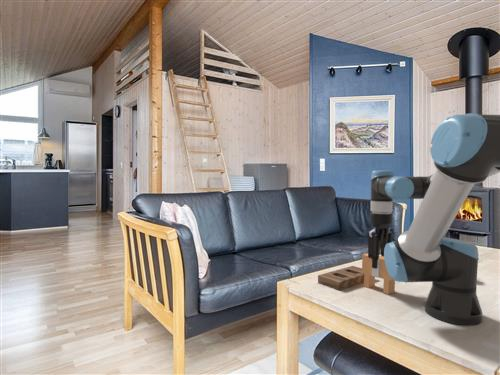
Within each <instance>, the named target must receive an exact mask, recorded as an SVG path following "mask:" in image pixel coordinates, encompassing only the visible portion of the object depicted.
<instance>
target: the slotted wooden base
mask: <svg viewBox="0 0 500 375" xmlns="http://www.w3.org/2000/svg"><path fill="white" fill-rule="evenodd" d="M362 283H364V273H362V267H360V266H359V267H358V266H356V265H351V266H348V267H344V268H339V269H337V270H332V271H329V272H325V273H321V274H318V275H317V284H320V285H323V286H326V287H329V288H331V289H334V290H336V291H342V290H343V289H348V288H350V287H353V286H356V285H359V284H362Z"/></svg>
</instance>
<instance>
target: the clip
mask: <svg viewBox="0 0 500 375" xmlns="http://www.w3.org/2000/svg"><path fill="white" fill-rule="evenodd" d="M361 256H362V257H361V258H362V259H361V262H362V264H361V266H362V267H361V268H362V273H364V282H363V287H365V288H367V289H370V288H372V287H375V285H376V277H374V276H372V259H371V258H368V252H367V253H363V254H362V255H361ZM379 260H380V278H379V279H383V288H382V289H383V294H387V295H391V294H393V293H395V287H396V281H395V280H393V279H392V278H391V277H390V275H389V274H388V271H387V269H386V265H385V260H384V256H381V255H379Z"/></svg>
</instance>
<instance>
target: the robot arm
mask: <svg viewBox="0 0 500 375" xmlns="http://www.w3.org/2000/svg"><path fill="white" fill-rule="evenodd" d="M430 144H431V147H430V150H429V151H430V155H431V159H432V161H433V166H434V168H435V169H436V171H435V173H433V174H431V175H428V176H407V175H406V176H401V175H399V176H397V175H395V176H394V171H393V170H389V169H388V170H386V169H385V170H383V169H382V170H381V169H380V170H373V171H371V178H370V208H369V209H370V213H369V222H370V224H372V227H371V230H370V231H369V230H368V231H367V232H366V233H367V253H368V258H371V259H372V276H374V277H375V278H378V279H381V278H380V260H379V256H384V260H385V265H386V269H387V271H388V274H389V275H390V277H391V278H392V279H393V280H395V282H399V283H406V284H407V283H423V282H424V283H425V282H426V283H427V282H428V283H429V282H430V283H431V288H430V290H429V293H428V294H427V297H426V300H425V303H424V311H425V312H426V313H427V314H428V315H430V316H431V317H433V318H435V319H438V320H440V321H443V322H447V323H450V324H454V325H455V324H456V325H463V326H473V325H478V324H480V323H482V322H483V310H482V307H481V304H480V300H479V297H478V295H477V288H478V287H477V285H478V284H477V283H478V264H479V263H478V262H479V249H478V247H477V246H476V245H475V244H474V243H471V242H468V241H465V240H461V239H456V238H452V237H446V235H447V233H448V231H449V229H450V227H451V225H452V224H453V222H454V220H455V218H456V217H457V215H458V213H459V212H460V209H461V208H462V207H463V205H464V203H465V201H466V199H467V198H468V196H469V194H470V192H471V191H472V189H473V187H474V186H475V184H480V183H483V182H484V181H486V179H487V178H489V177H491V176H493V175H496V174H498V173H500V114H483V113H482V114H478V113H475V112H472V113H463V114H454V115H451V116H448V117H447V118H445V119H444V120H443V121H442V122H440V123H439V125H438V126H437V127H436V128H435V130H434V132H433V134H432V138H431V140H430ZM393 200H396V201H399V200H400V201H403V200H404V201H405V200H421V203H420V205H419V207H418V209H417V212H416V214H415V215H414V218H413V220H412V222H411V224H410V226H409V228H408V230H405V231H403V232H402V233H401V234H400V235H399V237H397V241H396V242H393V234H394V228H391V227H390V225H391V224H392V223H393V207H394V206H393Z"/></svg>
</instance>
